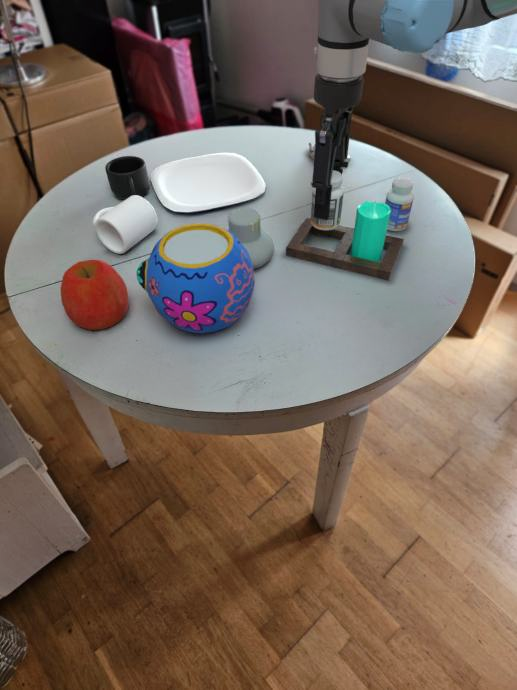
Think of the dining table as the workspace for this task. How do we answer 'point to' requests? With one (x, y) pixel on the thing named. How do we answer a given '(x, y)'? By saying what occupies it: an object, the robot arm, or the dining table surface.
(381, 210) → the candle
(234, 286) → the ceramic pot
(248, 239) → the air freshener
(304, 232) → the holder
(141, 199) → the mug
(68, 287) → the apple
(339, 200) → the pill bottle
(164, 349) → the dining table surface
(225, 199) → the plate
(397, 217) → the pill bottle
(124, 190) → the mug
